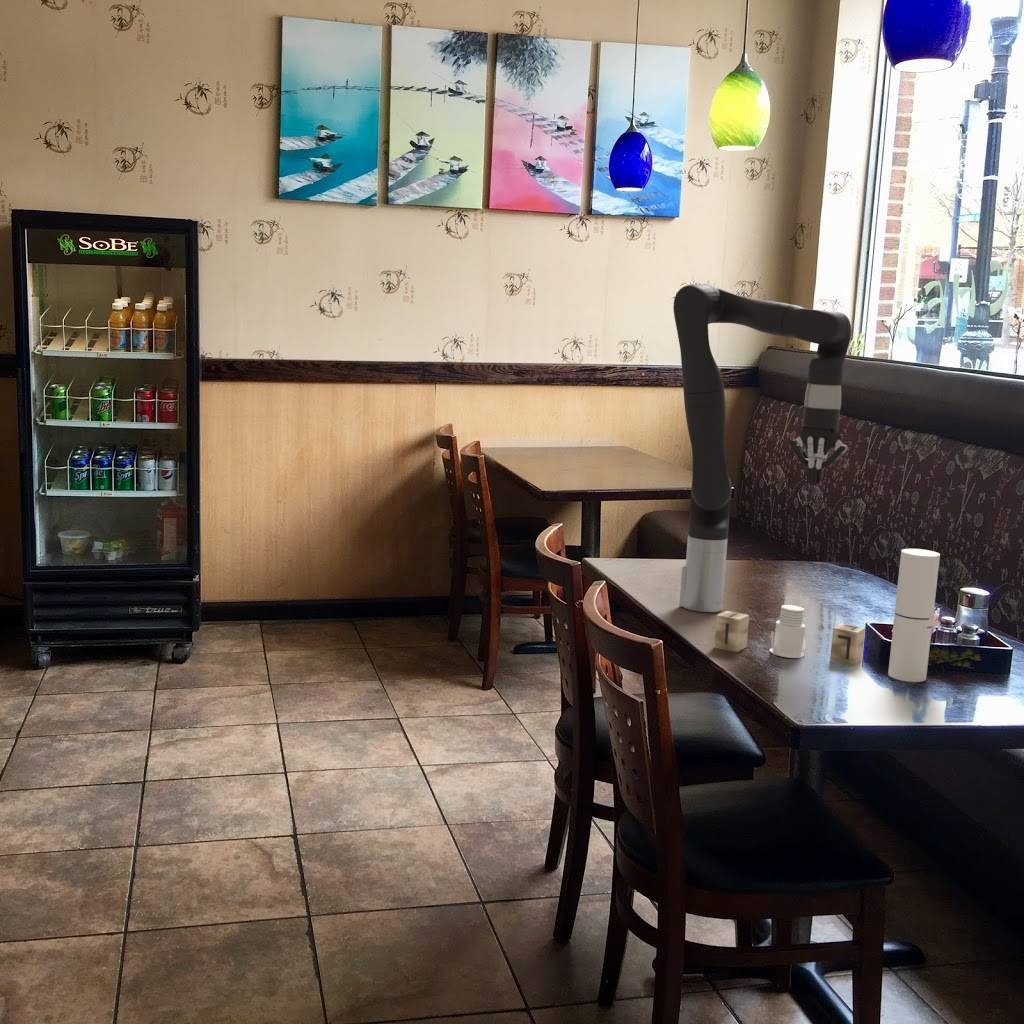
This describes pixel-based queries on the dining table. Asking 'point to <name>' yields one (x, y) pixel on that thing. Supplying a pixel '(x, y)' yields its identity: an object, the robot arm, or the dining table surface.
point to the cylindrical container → (913, 614)
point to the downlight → (789, 633)
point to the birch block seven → (847, 644)
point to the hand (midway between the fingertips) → (814, 485)
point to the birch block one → (731, 631)
